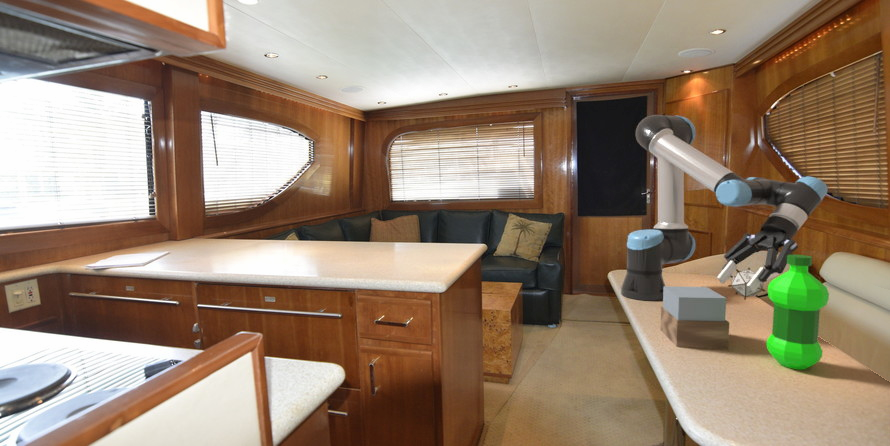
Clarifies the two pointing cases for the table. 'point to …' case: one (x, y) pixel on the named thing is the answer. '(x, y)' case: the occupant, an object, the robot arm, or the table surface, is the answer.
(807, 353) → the plastic bottle
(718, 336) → the tower base
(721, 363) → the table surface
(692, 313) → the tower top
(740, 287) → the game die
